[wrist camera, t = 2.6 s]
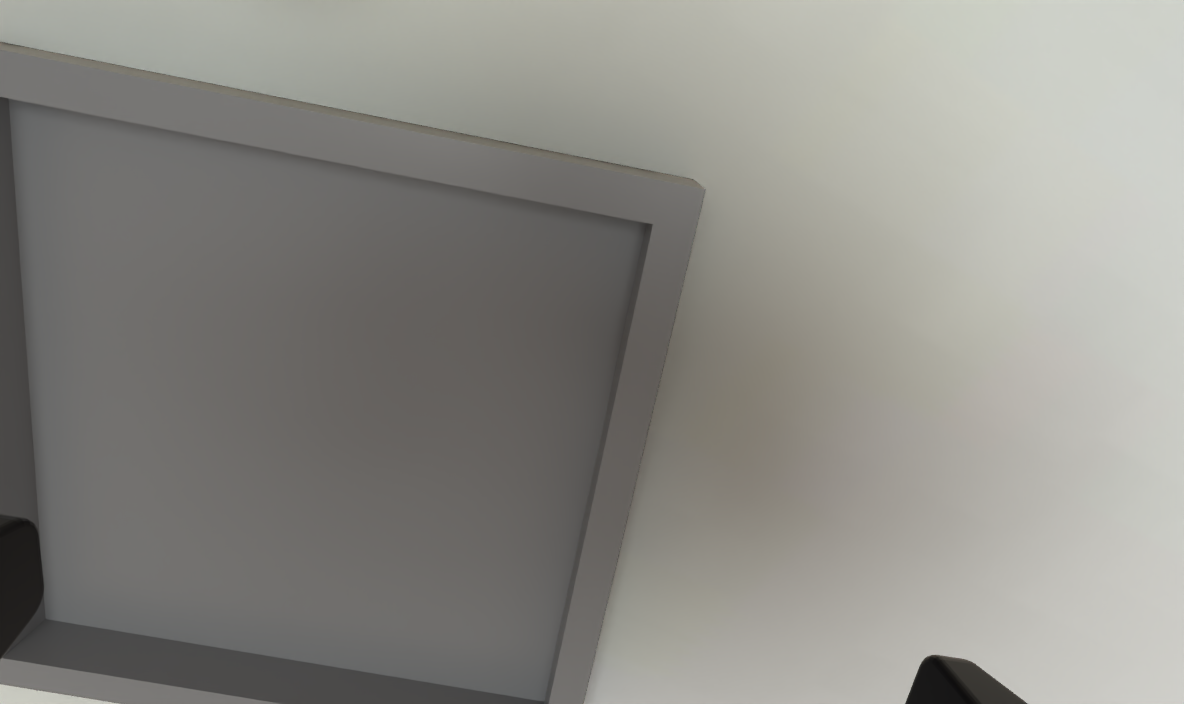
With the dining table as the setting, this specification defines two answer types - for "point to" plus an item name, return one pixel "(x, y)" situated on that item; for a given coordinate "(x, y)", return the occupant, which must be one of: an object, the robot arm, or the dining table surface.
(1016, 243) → the dining table surface
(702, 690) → the dining table surface
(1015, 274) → the dining table surface
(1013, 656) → the dining table surface
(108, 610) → the tray
